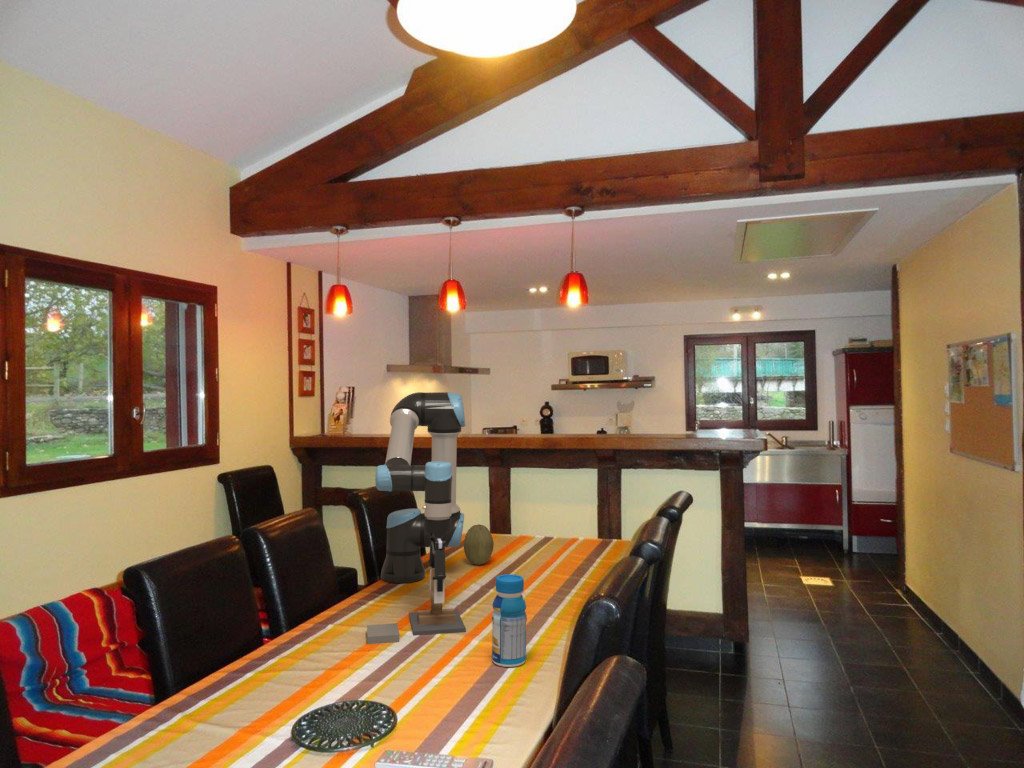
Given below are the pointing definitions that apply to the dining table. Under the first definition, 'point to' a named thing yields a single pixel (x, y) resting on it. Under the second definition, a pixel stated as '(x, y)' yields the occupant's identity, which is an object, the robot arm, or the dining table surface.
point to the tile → (382, 633)
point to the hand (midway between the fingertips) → (436, 596)
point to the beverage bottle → (509, 622)
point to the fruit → (478, 544)
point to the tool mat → (436, 626)
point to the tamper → (435, 610)
